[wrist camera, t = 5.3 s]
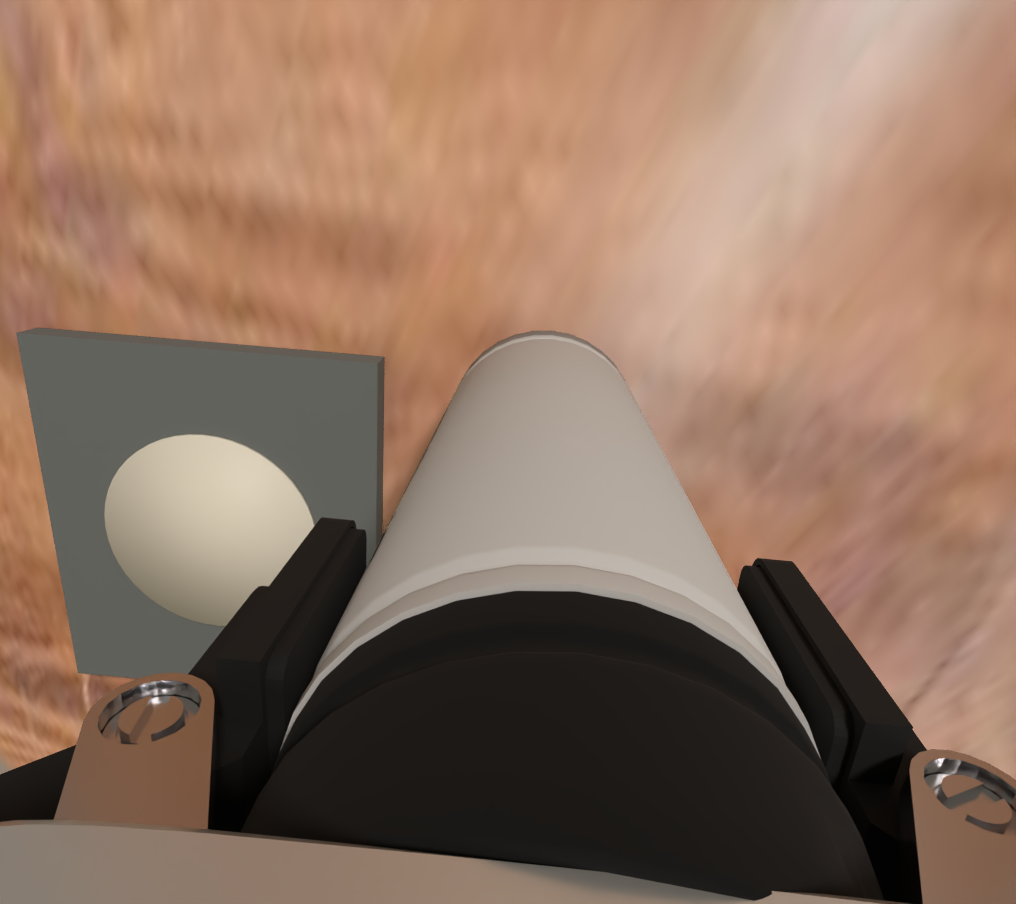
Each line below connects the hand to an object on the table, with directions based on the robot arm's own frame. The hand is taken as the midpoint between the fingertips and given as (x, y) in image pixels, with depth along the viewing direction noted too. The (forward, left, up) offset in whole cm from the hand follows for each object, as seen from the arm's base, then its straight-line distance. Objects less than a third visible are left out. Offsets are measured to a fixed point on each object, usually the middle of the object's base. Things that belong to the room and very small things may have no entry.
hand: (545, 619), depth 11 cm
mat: (-8, +13, -16) cm, 22 cm away
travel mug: (0, 0, -13) cm, 13 cm away
